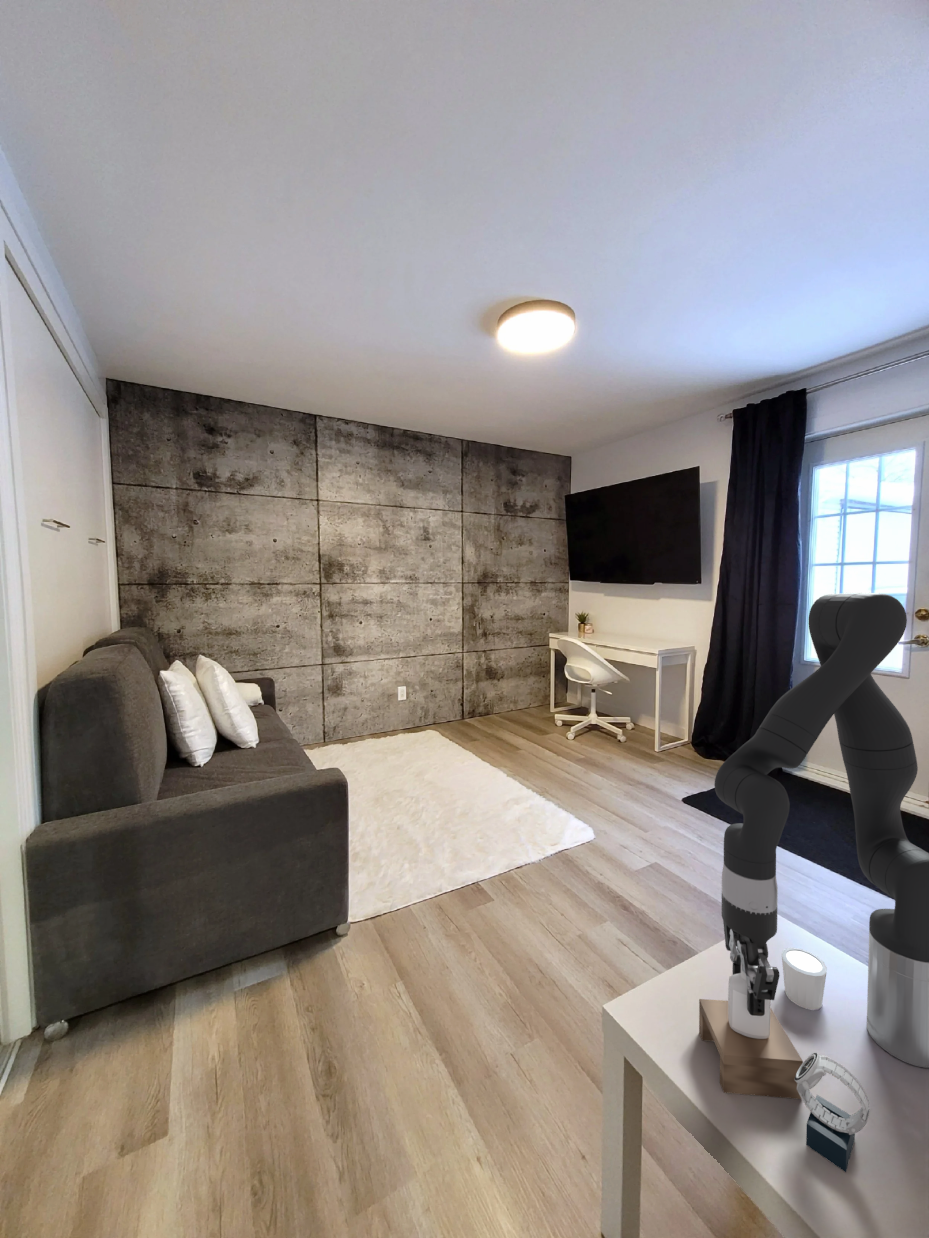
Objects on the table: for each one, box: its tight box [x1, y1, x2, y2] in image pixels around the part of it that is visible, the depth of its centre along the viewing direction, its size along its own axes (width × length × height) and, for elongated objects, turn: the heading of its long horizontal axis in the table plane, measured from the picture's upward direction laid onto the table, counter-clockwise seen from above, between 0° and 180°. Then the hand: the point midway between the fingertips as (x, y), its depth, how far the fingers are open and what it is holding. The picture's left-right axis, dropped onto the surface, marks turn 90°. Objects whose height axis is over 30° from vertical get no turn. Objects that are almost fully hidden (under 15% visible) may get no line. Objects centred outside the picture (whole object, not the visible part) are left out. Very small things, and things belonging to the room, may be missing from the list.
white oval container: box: [781, 947, 828, 1011], centre depth 89 cm, size 7×7×7 cm
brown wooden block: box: [698, 998, 804, 1100], centre depth 77 cm, size 11×10×6 cm
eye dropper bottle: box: [727, 965, 772, 1039], centre depth 76 cm, size 4×6×12 cm
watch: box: [795, 1052, 871, 1173], centre depth 66 cm, size 6×8×11 cm
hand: (747, 998), depth 77 cm, fingers open, 4 cm apart
